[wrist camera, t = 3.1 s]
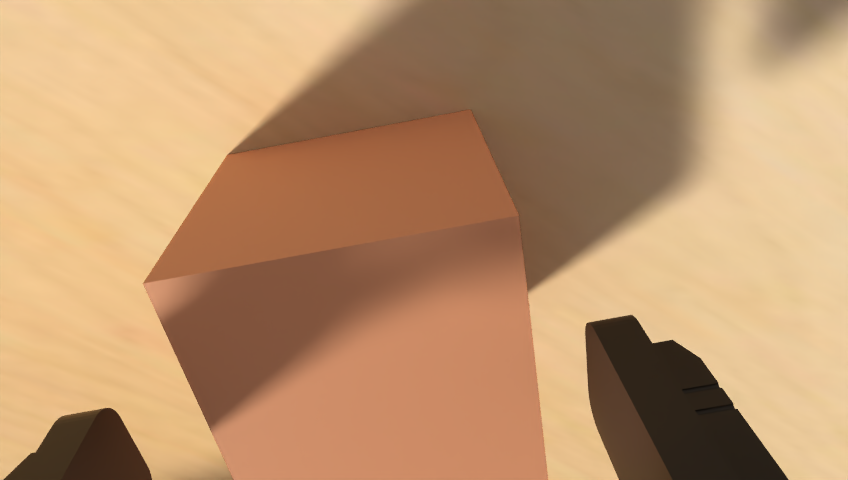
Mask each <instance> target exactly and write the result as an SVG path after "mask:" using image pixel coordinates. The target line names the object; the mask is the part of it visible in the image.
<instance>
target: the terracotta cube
mask: <svg viewBox="0 0 848 480" xmlns="http://www.w3.org/2000/svg"><path fill="white" fill-rule="evenodd" d="M143 285H144V287H145V289H146V291H147V293H148V296H149V298H150V300H151V302H152V304H153V306H154V309H155V311H156V313H157V315H158V317H159V319H160V322H161V324H162V326H163V328H164V330H165V332H166V335H167V337H168V339H169V341H170V343H171V345H172V348H173V350H174V352H175V354H176V356H177V358H178V361H179V363H180V365H181V367H182V369H183V371H184V374H185V376H186V378H187V380H188V382H189V384H190V387H191V389H192V391H193V393H194V395H195V397H196V400H197V402H198V404H199V406H200V408H201V410H202V413H203V415H204V417H205V419H206V421H207V423H208V426H209V428H210V430H211V432H212V434H213V436H214V439H215V441H216V443H217V445H218V447H219V449H220V452H221V454H222V456H223V458H224V460H225V462H226V465H227V467H228V469H229V471H230V473H231V475H232V478H233V480H548V474H547V465H546V456H545V447H544V438H543V429H542V420H541V411H540V402H539V393H538V383H537V374H536V365H535V356H534V347H533V338H532V329H531V320H530V311H529V302H528V293H527V284H526V275H525V265H524V256H523V247H522V238H521V229H520V220H519V214H518V212H517V210H516V208H515V206H514V203H513V201H512V199H511V197H510V195H509V192H508V190H507V188H506V186H505V184H504V181H503V179H502V177H501V175H500V173H499V171H498V168H497V166H496V164H495V162H494V160H493V157H492V155H491V153H490V151H489V149H488V146H487V144H486V142H485V140H484V138H483V135H482V133H481V131H480V129H479V127H478V125H477V122H476V120H475V118H474V116H473V114H472V111H471V110H465V111H460V112H455V113H449V114H444V115H438V116H433V117H428V118H422V119H417V120H412V121H406V122H401V123H396V124H390V125H385V126H380V127H374V128H369V129H363V130H358V131H353V132H347V133H342V134H337V135H331V136H326V137H321V138H315V139H310V140H304V141H299V142H294V143H288V144H283V145H278V146H272V147H267V148H262V149H256V150H251V151H246V152H240V153H235V154H229V155H227V156H226V158H225V159H224V161H223V162H222V164H221V165H220V167H219V168H218V170H217V171H216V173H215V174H214V176H213V177H212V179H211V180H210V182H209V184H208V185H207V187H206V188H205V190H204V191H203V193H202V194H201V196H200V197H199V199H198V200H197V202H196V203H195V205H194V206H193V208H192V209H191V211H190V213H189V214H188V216H187V217H186V219H185V220H184V222H183V223H182V225H181V226H180V228H179V229H178V231H177V232H176V234H175V235H174V237H173V238H172V240H171V242H170V243H169V245H168V246H167V248H166V249H165V251H164V252H163V254H162V255H161V257H160V258H159V260H158V261H157V263H156V264H155V266H154V268H153V269H152V271H151V272H150V274H149V275H148V277H147V278H146V280H145V281H144V283H143Z"/></svg>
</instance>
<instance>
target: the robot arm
mask: <svg viewBox="0 0 848 480" xmlns="http://www.w3.org/2000/svg"><path fill="white" fill-rule="evenodd" d="M585 336H586V354H587V373H588V391H589V399H590V405H591V409H592V413H593V417H594V420H595V424H596V426H597V429H598V432H599V434H600V436H601V439H602V441H603V443H604V446H605V448H606V450H607V453H608V455H609V457H610V460H611V462H612V464H613V467H614V469H615V471H616V474H617V476H618V478H619V480H788V478H787V477H786V475H785V474H784V473H783V471H782V470H781V469H780V467H779V466H778V464H777V463H776V462H775V460H774V459H773V458H772V456H771V455H770V453H769V452H768V451H767V449H766V448H765V447H764V445H763V444H762V442H761V441H760V440H759V438H758V437H757V436H756V434H755V433H754V431H753V430H752V429H751V427H750V426H749V424H748V423H747V422H746V420H745V419H744V418H743V416H742V415H741V413H740V412H739V411H738V409H735V408H734V406H733V402H732V401H731V400H730V398H729V397H728V396H727V394H726V393H725V391H724V390H723V389H722V388H720V387H719V385H718V382H717V380H716V379H715V378H714V376H713V375H712V374H711V372H710V371H709V369H708V368H707V367H706V365H705V364H704V363H703V361H702V360H701V358H699V357H698V356H696V355H695V354H693V353H692V352H690V351H689V350H687V349H686V348H684V347H683V346H681V345H680V344H678V343H676V342H675V341H673V340H669V341H664V342H658V343H652V342H651V341H650V339H649V338H648V336H647V334H646V333H645V331H644V330H643V328H642V327H641V325H640V324H639V322H638V320H637V319H636V318H635V317H634V316H633V315H628V316H622V317H617V318H611V319H606V320H600V321H595V322H589V323H587V324H586V329H585ZM4 480H152V478H151V474H150V470H149V468H148V466H147V464H146V463H145V461H144V459H143V457H142V455H141V454H140V452H139V450H138V448H137V447H136V445H135V443H134V441H133V439H132V438H131V436H130V434H129V432H128V430H127V429H126V427H125V425H124V423H123V421H122V420H121V418H120V416H119V415H118V413H117V412H116V411H114V410H113V409H111V408H104V409H99V410H93V411H88V412H82V413H76V414H71V415H65V416H62V417H60V418H59V419H58V420H57V421H56V422H55V423H54V424H53V426H52V427H51V429H50V431H49V432H48V434H47V435H46V437H45V439H44V440H43V442H42V443H41V445H40V447H39V448H38V450H37V451H36V453H31V454H30V455H29V456H28V457H27V458H26V459H25V460H23V461H22V462H21V463H20V464H19V465H18V466H17V467H16V468H15V469H14V470H13V471H12V472H11V473H10V474H9V475H8V476H7V477H6V478H5V479H4Z"/></svg>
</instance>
